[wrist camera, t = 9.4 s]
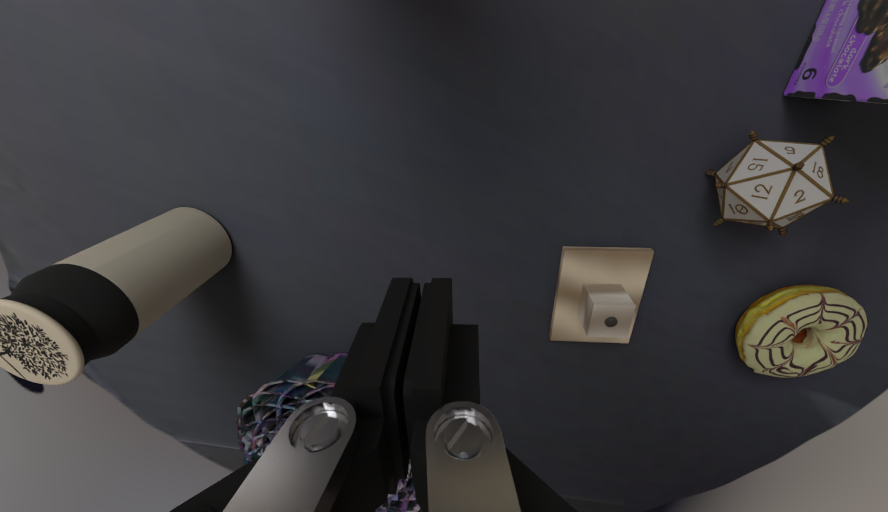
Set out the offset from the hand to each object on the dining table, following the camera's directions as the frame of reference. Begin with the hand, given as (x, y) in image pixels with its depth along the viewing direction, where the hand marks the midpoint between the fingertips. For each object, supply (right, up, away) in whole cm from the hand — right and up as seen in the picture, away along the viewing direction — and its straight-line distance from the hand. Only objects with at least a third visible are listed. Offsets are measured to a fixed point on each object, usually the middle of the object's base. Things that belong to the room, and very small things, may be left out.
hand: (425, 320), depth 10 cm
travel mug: (-27, +4, +31) cm, 41 cm away
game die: (+28, +10, +23) cm, 38 cm away
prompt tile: (+18, -3, +30) cm, 35 cm away
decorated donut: (+39, -5, +30) cm, 49 cm away
